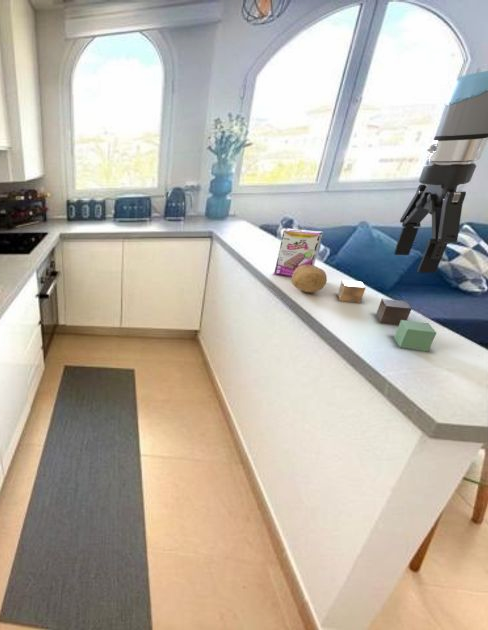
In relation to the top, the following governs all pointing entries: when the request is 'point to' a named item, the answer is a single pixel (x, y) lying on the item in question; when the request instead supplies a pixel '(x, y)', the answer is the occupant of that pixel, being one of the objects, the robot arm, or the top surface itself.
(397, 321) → the walnut block
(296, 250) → the candy bar box
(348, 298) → the oak block
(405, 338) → the sage block
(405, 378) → the top surface
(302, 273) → the potato
